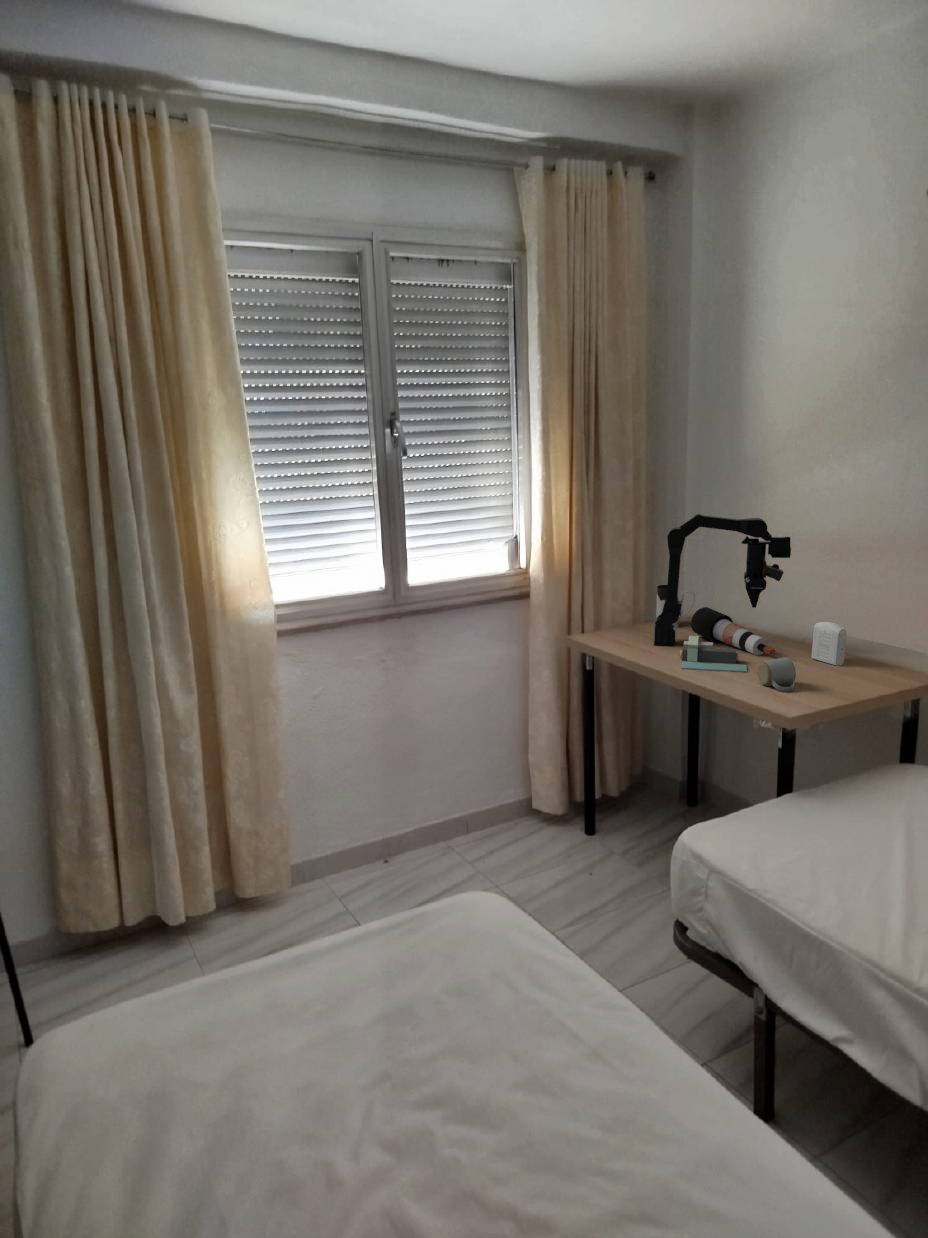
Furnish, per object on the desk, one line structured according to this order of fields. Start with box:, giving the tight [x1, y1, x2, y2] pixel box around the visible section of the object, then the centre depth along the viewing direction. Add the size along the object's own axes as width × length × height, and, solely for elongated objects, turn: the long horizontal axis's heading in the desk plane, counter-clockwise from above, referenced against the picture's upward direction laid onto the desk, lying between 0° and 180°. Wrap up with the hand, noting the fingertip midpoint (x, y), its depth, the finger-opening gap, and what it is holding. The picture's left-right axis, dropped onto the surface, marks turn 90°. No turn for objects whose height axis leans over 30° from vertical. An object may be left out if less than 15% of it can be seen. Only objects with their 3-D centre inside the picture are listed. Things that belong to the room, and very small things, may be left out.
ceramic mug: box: [756, 657, 797, 693], centre depth 223 cm, size 11×8×8 cm
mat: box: [680, 661, 748, 673], centre depth 243 cm, size 19×7×1 cm, turn 73°
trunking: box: [683, 640, 714, 648], centre depth 257 cm, size 9×4×4 cm, turn 73°
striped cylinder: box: [690, 606, 776, 656], centre depth 265 cm, size 10×34×10 cm, turn 23°
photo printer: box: [811, 621, 848, 667], centre depth 245 cm, size 10×4×12 cm, turn 25°
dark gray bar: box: [679, 646, 740, 664], centre depth 250 cm, size 18×4×4 cm, turn 71°
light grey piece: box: [686, 635, 700, 662], centre depth 255 cm, size 3×13×6 cm, turn 163°
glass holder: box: [655, 584, 696, 629], centre depth 296 cm, size 9×14×15 cm, turn 67°
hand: (753, 604), depth 261 cm, fingers open, 9 cm apart
